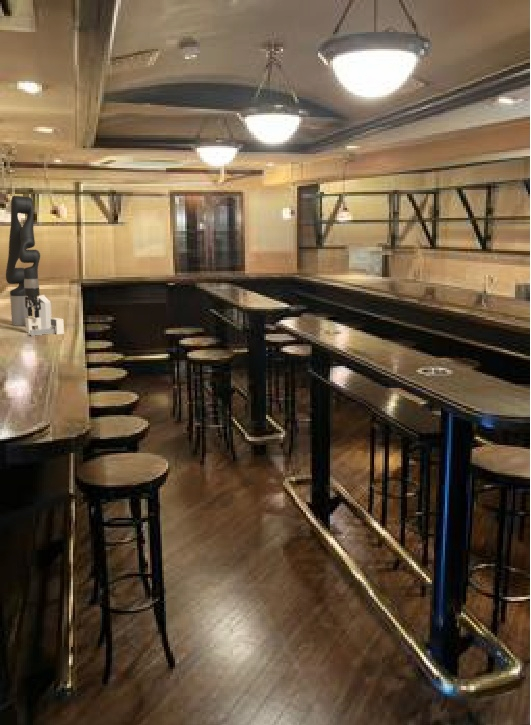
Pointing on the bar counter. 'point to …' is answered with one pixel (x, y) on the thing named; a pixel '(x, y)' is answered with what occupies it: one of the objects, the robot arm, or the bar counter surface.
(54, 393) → the bar counter surface
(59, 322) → the block
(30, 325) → the cream rectangular block
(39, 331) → the rail
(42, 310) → the milk carton
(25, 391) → the bar counter surface
